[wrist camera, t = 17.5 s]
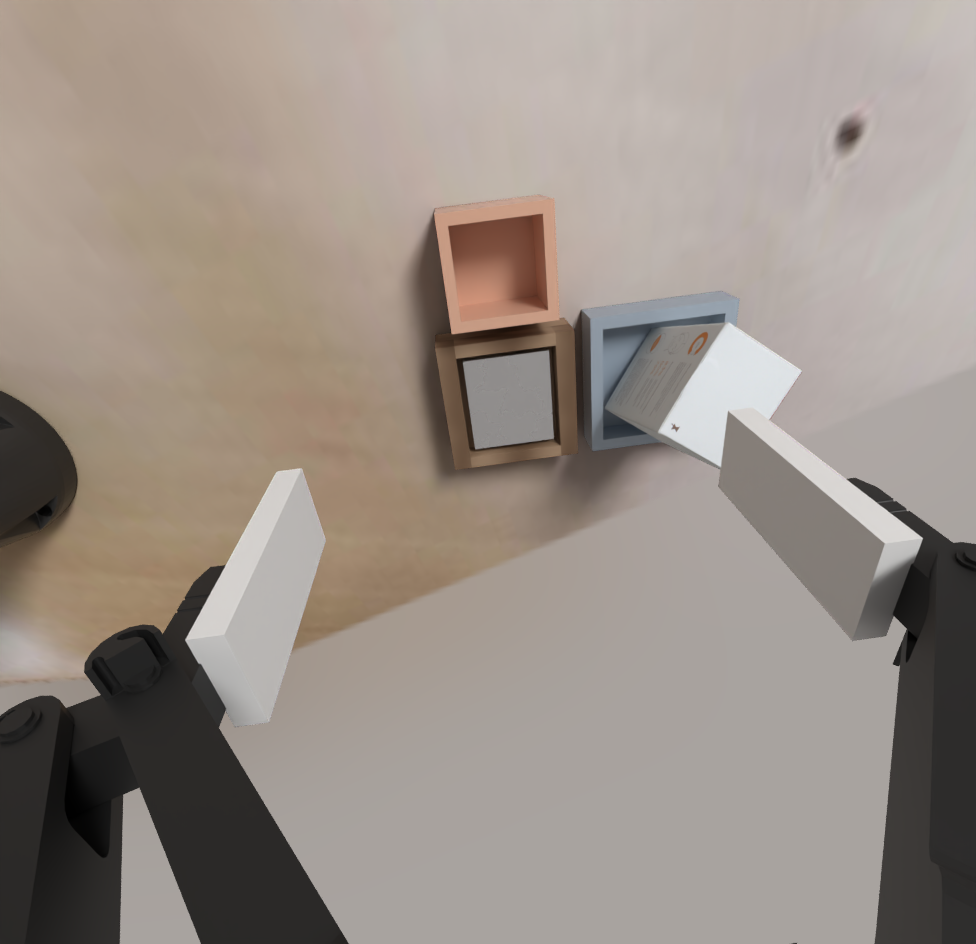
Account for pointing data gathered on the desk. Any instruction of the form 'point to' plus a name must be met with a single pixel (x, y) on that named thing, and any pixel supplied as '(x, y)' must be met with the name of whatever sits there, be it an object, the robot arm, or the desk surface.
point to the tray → (633, 354)
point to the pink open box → (499, 262)
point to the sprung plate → (509, 397)
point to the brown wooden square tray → (500, 340)
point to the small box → (699, 385)
